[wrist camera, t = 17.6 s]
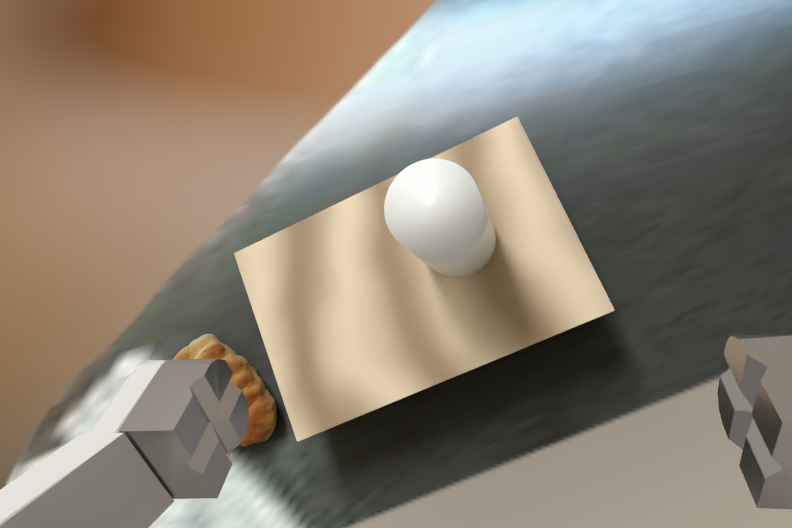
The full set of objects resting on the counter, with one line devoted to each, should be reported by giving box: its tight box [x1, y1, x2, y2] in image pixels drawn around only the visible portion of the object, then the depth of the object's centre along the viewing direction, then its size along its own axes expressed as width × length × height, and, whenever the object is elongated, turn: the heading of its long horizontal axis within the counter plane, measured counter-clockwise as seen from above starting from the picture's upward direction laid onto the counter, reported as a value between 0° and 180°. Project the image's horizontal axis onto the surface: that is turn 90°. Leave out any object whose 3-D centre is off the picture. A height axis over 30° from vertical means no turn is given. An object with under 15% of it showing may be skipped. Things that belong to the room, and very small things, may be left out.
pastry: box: [174, 334, 277, 446], centre depth 42 cm, size 9×7×4 cm
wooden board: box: [234, 117, 614, 442], centre depth 39 cm, size 22×14×5 cm, turn 112°
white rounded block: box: [384, 159, 496, 278], centre depth 32 cm, size 5×5×8 cm
